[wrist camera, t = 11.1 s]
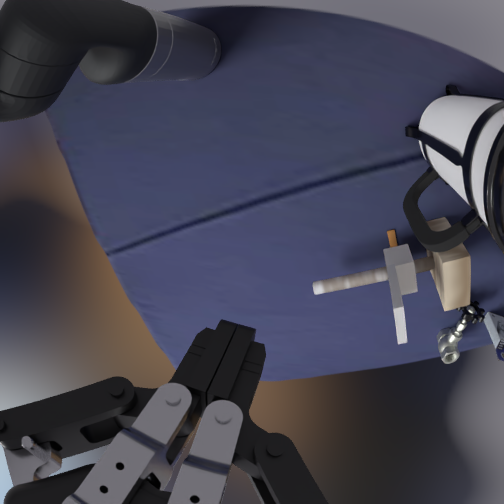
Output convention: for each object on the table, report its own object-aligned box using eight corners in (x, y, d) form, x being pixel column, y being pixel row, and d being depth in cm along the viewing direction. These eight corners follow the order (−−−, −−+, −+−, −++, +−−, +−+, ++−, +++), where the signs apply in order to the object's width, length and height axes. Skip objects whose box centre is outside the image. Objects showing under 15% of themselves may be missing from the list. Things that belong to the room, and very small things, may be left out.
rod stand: (324, 287, 52) (317, 335, 42) (310, 249, 49) (301, 293, 39) (449, 259, 43) (469, 304, 33) (444, 216, 39) (470, 255, 30)
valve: (452, 342, 50) (479, 299, 44) (458, 366, 45) (489, 322, 39) (427, 338, 52) (454, 293, 45) (432, 362, 46) (463, 317, 40)
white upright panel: (388, 279, 44) (398, 344, 33) (382, 247, 42) (393, 308, 30) (412, 273, 43) (428, 337, 31) (407, 241, 41) (426, 301, 29)
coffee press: (398, 75, 32) (508, 51, 7) (494, 97, 28) (644, 142, 3) (391, 191, 40) (446, 343, 16) (480, 204, 36) (580, 339, 12)
